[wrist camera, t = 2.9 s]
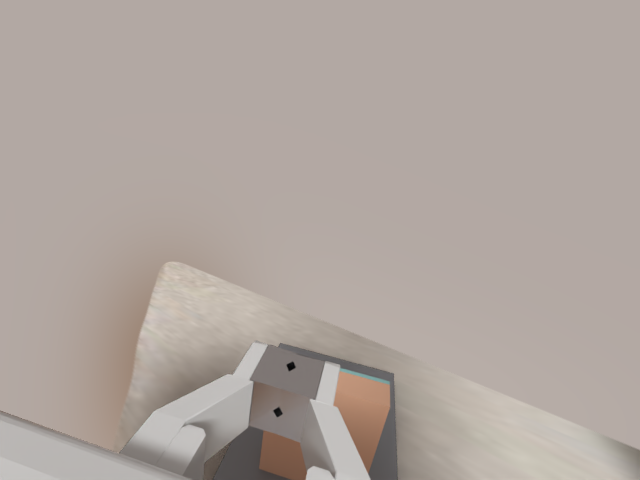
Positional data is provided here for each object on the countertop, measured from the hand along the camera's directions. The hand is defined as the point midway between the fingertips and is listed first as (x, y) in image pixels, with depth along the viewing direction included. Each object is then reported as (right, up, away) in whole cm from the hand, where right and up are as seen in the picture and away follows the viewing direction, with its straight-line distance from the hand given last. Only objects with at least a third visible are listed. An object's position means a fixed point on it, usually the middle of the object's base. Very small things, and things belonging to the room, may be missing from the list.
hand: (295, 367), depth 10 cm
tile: (0, -14, +14) cm, 20 cm away
